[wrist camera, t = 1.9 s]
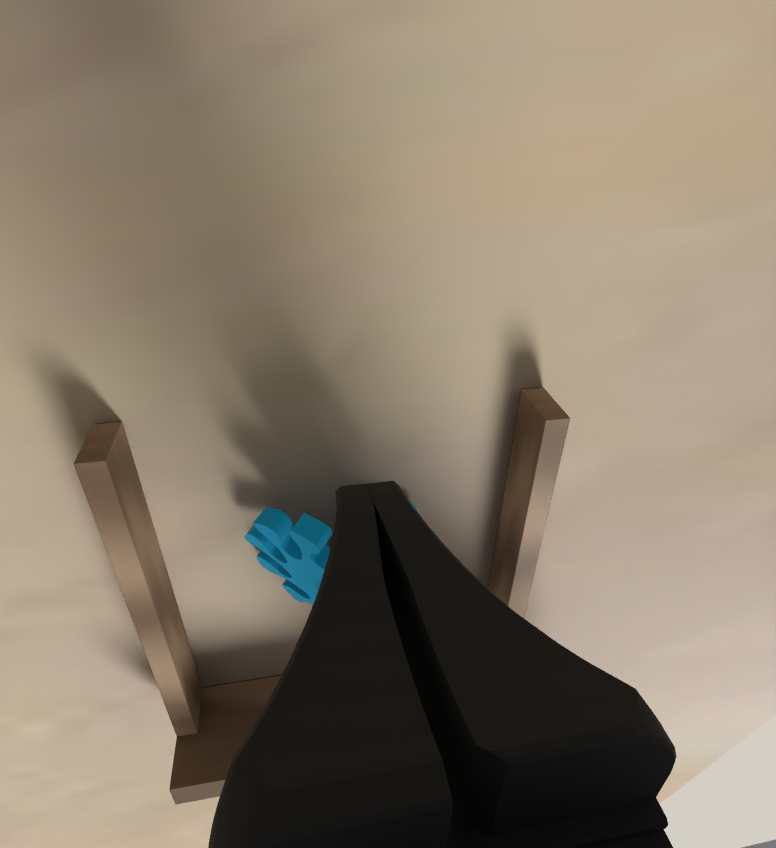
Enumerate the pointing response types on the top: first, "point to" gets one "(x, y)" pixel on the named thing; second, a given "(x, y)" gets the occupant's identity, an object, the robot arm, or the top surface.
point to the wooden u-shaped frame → (244, 701)
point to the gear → (293, 550)
